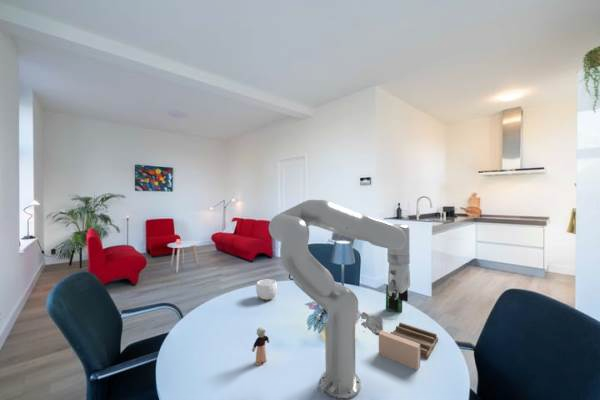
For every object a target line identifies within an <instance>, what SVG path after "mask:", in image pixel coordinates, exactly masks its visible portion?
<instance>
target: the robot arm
mask: <svg viewBox="0 0 600 400" xmlns="http://www.w3.org/2000/svg"><path fill="white" fill-rule="evenodd" d="M310 226H313V227H317V228H321V229H323V230H326V231H329V232H332V233H335V234H338V235H341V236H344V237H346V238H349V239H354V240H357V241H362V242H368V243H369V244H370V245H373V246H376V247H379V248H384V249H387V263H388V270H387V271H388V276H387V285H388V295H389V296H388V298H389V309H392V310H396V311H395V312H398V299H397V298H398V294H399V300H402V302H408V300H409V296H408V295H409V293H408V292H409V291H408V290H409V288H410V286H411V277H410V275H411V274H410V273H411V272H410V228H409V226H408V224H407V225H406V224H402V223H399V224H398V223H392V224H391V223H388V222H386V221H383V220H381V219H377V218H373V217H371V216H368V215H365V214H362V213H358V212H356V211H354V210H351V209H348V208H346V207H345V206H344V207H343V206H341V205H339V204H337V203H334V202H332V201H329V200H325V199H308V200H306V201H305V200H304V201H303V202H300V203H299V204H297V205H295V206H292V207H290V208H288V209H286V210H284V211H282V212H280V213H278V214H276V215H275V216H273V218H272V219H270V221H269V224H268V231H269V234H270V236H271V237H272V238H273V239H274V240H276V241H277V242H280V243H281V244H280V251H279V252H280V262H281V265H282V267H283V269H284V270H286V272H287V273H288V274H289V275H290V276H291V278H292V279H293V280H292V281H293V283H294V284H295V285H296V286H297V288H299V289H300V290H301V291H302V292H303V293H305V294H306V295H307V296H308V297H309V298H310V299H311V300H312V301H314V302H315V303H316V304H317V305H319V306H320V307H321V308H323V309H324V310H325V311H326V312H328V317H327V321H326V323H325V326H324V327H325V328H324V339H325V342H324V343H325V345H324V346H325V347H324V348H325V353H324V354H325V356H324V357H325V358H324V359H325V371H323V373H322V374H321V377H320V384H319V385H318V387H317V391H318V392H319V394H323V393H326V394H328V395H330V396H332V397H333V396H334V397H333V398H336V397H337V399H342V398H345V399H350V397H351V398H353V397H355V396H356V395H357V394H358V393H359V392H360V390H361V387H362V386H361V379H360V377H359V375H358V374H356V322H357V316H358V310H359V299H358V297H357V295H356V294H355V292H353V291H352V290H351V289H350V288H348V287H347V286H345V285H343V284H341V283H339V282H337V281H335V279H334V277H333V274H332V273H331V272H330V271H329V269H327V268H326V267H325V266H324V265H323V264H321V262H320V261H319V260H318V259H316V257H315V256H314V255H313V254H312V253H311V252H310V250H309V240H310V228H309V227H310ZM394 289H397V290H394ZM393 292H395V293H396V294H394V293H393Z"/></svg>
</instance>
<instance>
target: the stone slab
mask: <svg viewBox="0 0 600 400" xmlns="http://www.w3.org/2000/svg"><path fill="white" fill-rule="evenodd" d="M369 315H370V314H368V313H367V312H365V311H363V312H361V324H360V325H361V326H363V328H365V329H368V330H369V331H371V333H372V334H374V335H376V334H379V333H380V332H381V331H382V330H383V331H384V327H383V319H382V317H380V316H375V315H370V316H369ZM364 320H365V321H364ZM363 332H364V333H366V332H365V331H364V330H363Z"/></svg>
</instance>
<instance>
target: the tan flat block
mask: <svg viewBox="0 0 600 400" xmlns="http://www.w3.org/2000/svg"><path fill="white" fill-rule="evenodd" d="M378 355H381V356H382V357H385V358H388V359H390V360H392V361H395V362H397V363H399V364H402V365H403V366H406V367H408V368H411V369H413V370H416V371H419V368H420V367H421V356H420V344H419V343H416V342H414V341H411V340H408V339H405V338H402V337H399V336H397V335H394V334H391V332H388V331H385V330H384V329H383V330H382V331H381V332H380V333H378Z"/></svg>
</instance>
